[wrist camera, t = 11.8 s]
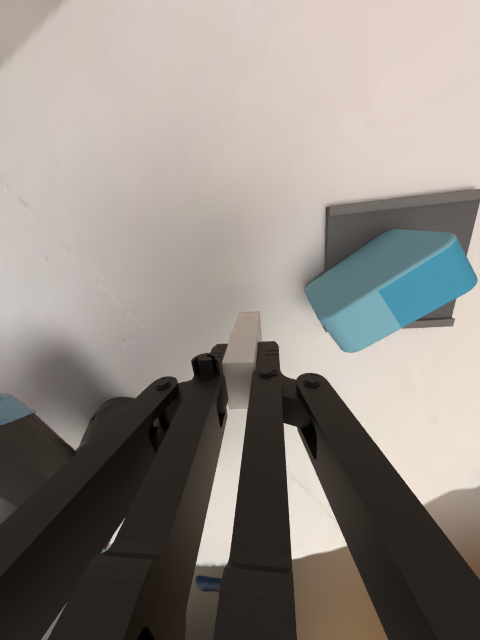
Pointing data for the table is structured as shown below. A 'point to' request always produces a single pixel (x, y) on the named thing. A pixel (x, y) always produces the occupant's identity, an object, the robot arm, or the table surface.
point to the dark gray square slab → (407, 214)
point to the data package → (389, 285)
